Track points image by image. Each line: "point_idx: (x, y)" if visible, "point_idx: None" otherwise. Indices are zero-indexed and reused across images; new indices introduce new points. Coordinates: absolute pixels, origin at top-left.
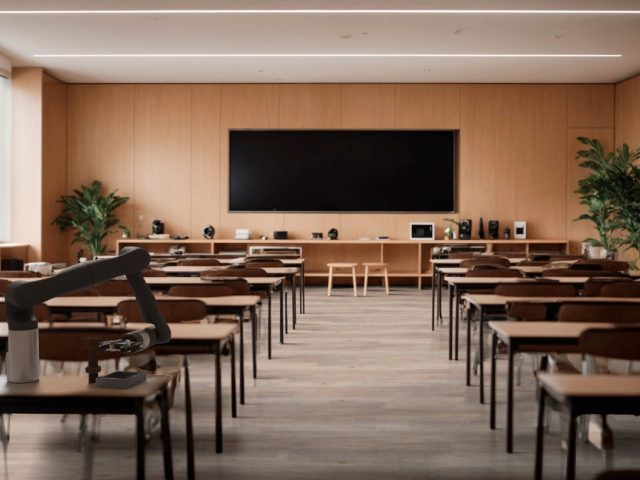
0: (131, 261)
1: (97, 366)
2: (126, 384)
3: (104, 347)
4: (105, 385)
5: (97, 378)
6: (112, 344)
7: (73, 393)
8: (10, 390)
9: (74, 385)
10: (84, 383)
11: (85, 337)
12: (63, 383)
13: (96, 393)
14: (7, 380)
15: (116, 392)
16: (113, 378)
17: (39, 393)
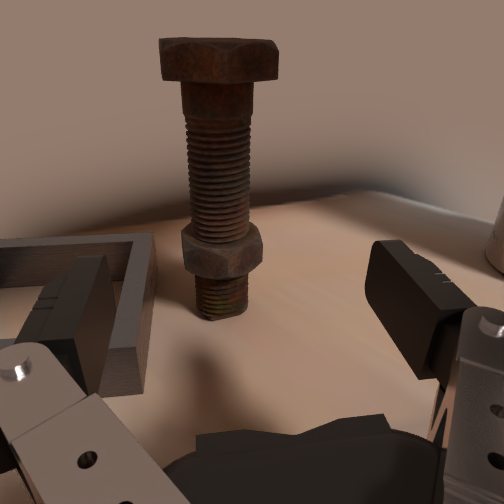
0: None
1: (192, 232)
2: None
3: (411, 317)
4: None
5: (143, 234)
6: (441, 409)
7: (188, 219)
8: (406, 204)
9: (272, 268)
10: (258, 294)
11: (259, 39)
12: (348, 275)
13: (106, 231)
14: None
15: None
16: (58, 240)
17: (292, 204)
